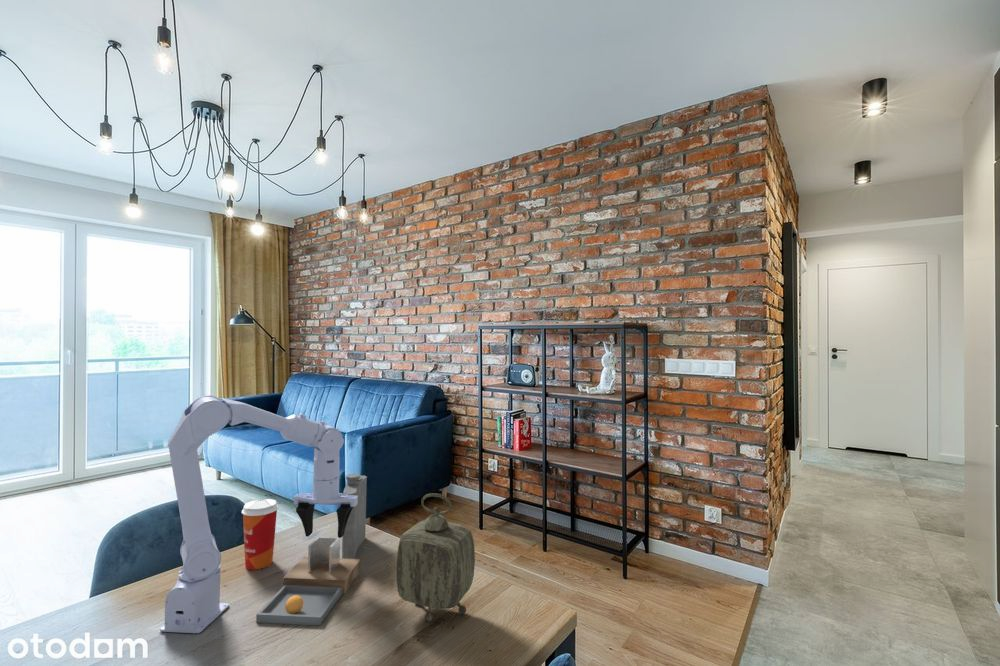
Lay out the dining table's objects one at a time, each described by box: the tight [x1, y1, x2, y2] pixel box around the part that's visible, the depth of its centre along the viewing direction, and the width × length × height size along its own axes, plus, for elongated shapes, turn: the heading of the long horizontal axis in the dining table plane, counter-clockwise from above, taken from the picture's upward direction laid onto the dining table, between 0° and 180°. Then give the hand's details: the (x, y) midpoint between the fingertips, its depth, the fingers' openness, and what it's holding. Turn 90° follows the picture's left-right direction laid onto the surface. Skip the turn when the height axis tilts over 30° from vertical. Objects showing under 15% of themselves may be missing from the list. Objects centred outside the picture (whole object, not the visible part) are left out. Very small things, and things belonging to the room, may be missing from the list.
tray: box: [255, 585, 343, 626], centre depth 99 cm, size 11×13×2 cm
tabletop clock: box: [396, 492, 476, 623], centre depth 97 cm, size 14×9×25 cm, turn 70°
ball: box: [285, 595, 303, 614], centre depth 97 cm, size 3×3×3 cm
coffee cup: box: [241, 498, 279, 571], centre depth 117 cm, size 8×8×15 cm
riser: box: [282, 556, 361, 595], centre depth 110 cm, size 10×14×3 cm
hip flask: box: [341, 473, 368, 559], centre depth 127 cm, size 16×4×20 cm, turn 4°
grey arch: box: [307, 536, 341, 573], centre depth 110 cm, size 5×5×6 cm
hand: (325, 535), depth 111 cm, fingers open, 7 cm apart
